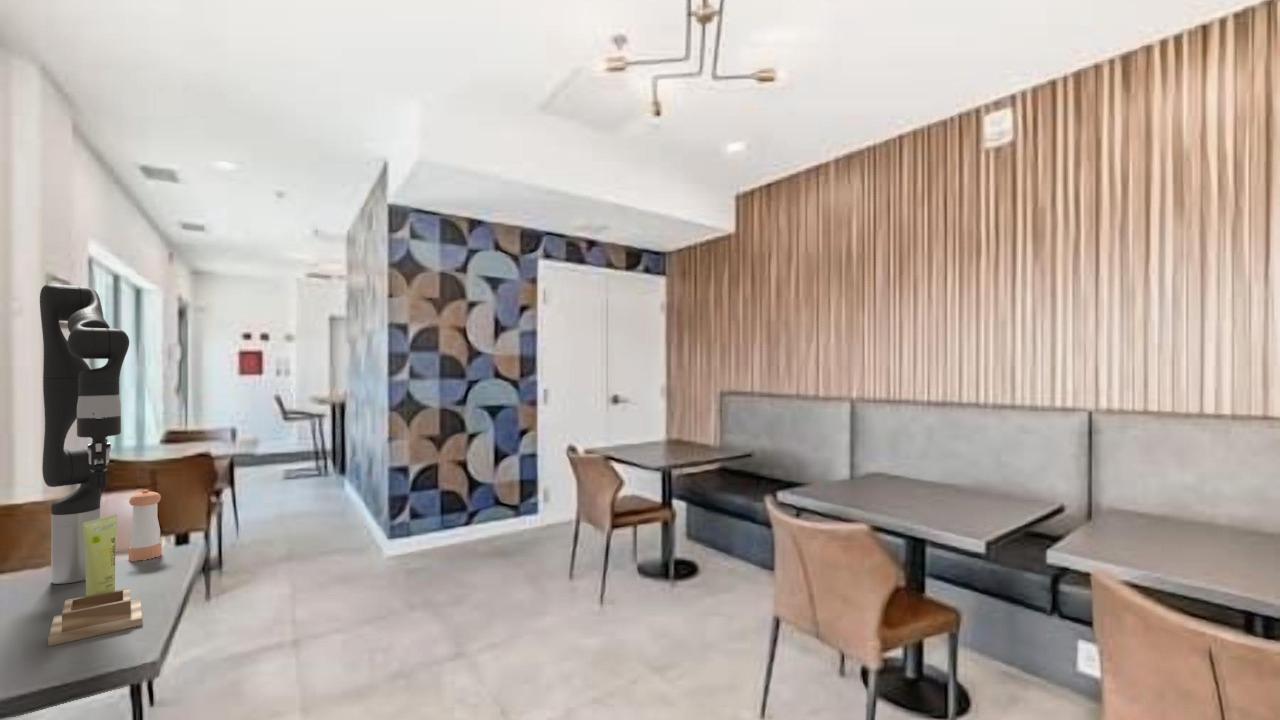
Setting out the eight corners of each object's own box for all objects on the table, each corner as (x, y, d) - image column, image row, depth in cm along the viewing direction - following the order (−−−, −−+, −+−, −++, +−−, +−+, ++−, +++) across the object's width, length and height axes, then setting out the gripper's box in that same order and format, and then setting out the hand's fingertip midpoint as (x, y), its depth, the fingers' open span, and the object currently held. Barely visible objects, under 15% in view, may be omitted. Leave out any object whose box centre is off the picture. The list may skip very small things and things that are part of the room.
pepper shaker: (122, 562, 168) (122, 492, 168) (139, 554, 175) (139, 487, 175) (151, 560, 169) (151, 491, 169) (167, 552, 176) (167, 486, 176)
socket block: (54, 623, 127) (54, 599, 127) (140, 605, 136) (140, 583, 136) (48, 646, 117) (48, 620, 117) (142, 625, 126) (142, 601, 126)
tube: (112, 605, 137) (112, 518, 137) (82, 610, 134) (82, 522, 134) (117, 597, 142) (116, 513, 142) (88, 602, 139) (87, 517, 139)
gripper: (78, 414, 141) (78, 484, 141) (75, 418, 130) (75, 493, 130) (120, 412, 146) (121, 479, 146) (120, 415, 135) (121, 488, 135)
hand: (99, 486), depth 138 cm, fingers open, 8 cm apart
